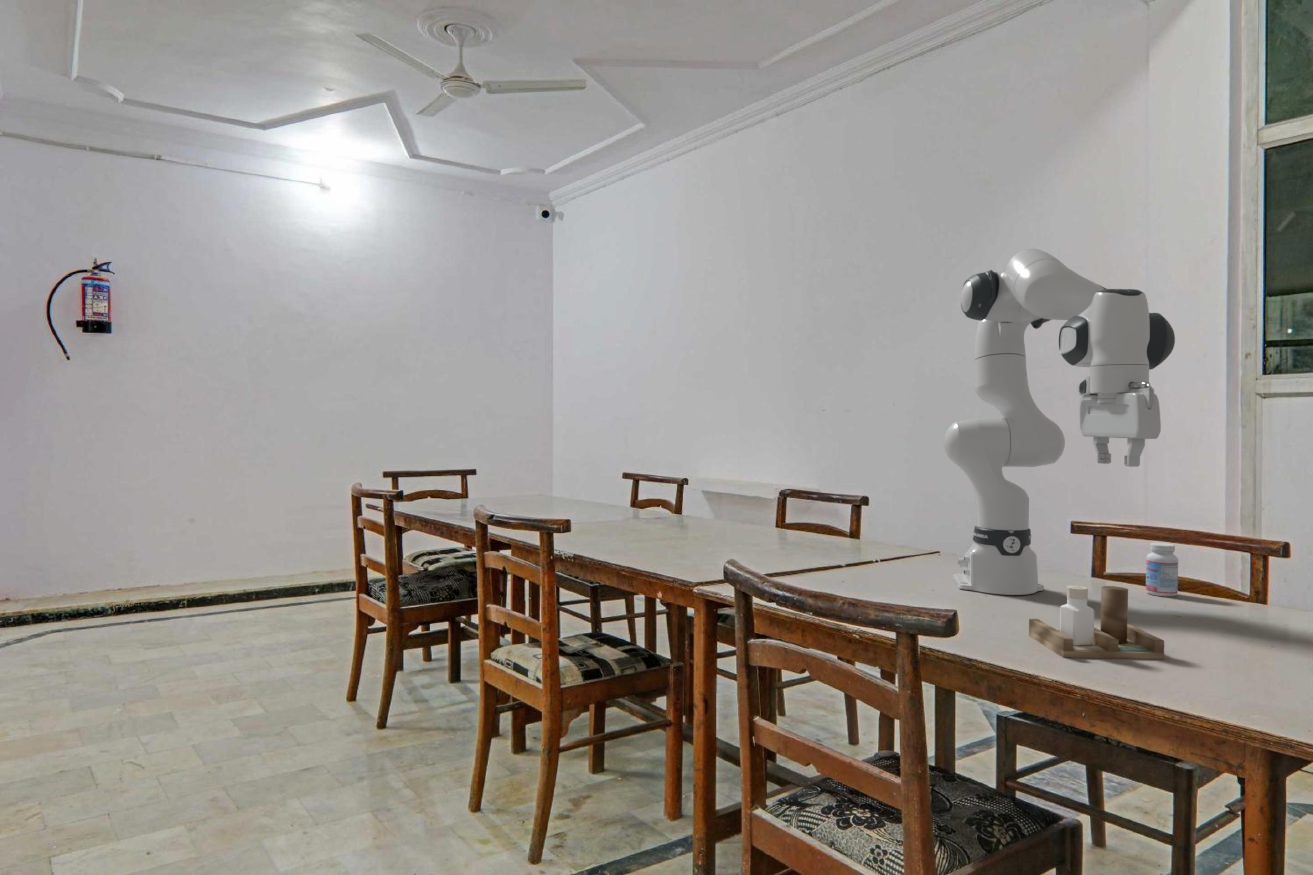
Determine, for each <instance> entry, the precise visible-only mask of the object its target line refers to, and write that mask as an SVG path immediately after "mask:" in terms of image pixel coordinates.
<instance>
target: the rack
mask: <svg viewBox="0 0 1313 875" xmlns="http://www.w3.org/2000/svg"><path fill="white" fill-rule="evenodd" d="M1028 636H1029V637H1031V638H1032V637H1033V638H1032V639H1034V640H1035V639H1036V640H1035V641H1036V642H1039V643H1040V644H1042V645H1044V646H1045V647H1047V648H1048V649H1050V650H1051V651H1053V652H1054V653H1056V654H1058V655H1059V656H1060V657H1062V658H1069V657H1071V658H1073V659H1075V658H1076V659H1077V658H1080V659H1081V658H1082V659H1083V658H1085V659H1134V660H1135V659H1137V660H1139V659H1141V660H1144V659H1146V660H1164V659H1165V640H1163V639H1162V638H1159V637H1158V636H1155V635H1153V634H1151V633H1149V632H1147V631H1144V630H1142V629H1140V628H1139V627H1136V626H1134V625H1132V624H1130V623H1128V622H1127V643H1125V644H1118V643H1119V640H1118V639H1116V638H1114V637H1112V636H1110V635H1108V634H1106V633H1104V632H1102V631H1101V629H1098V628H1097V627H1095V626H1094V642H1093V644H1092V645H1083V646H1074V645H1073V639H1072V638H1070V637H1068V636H1067V635H1065V634H1063V633H1061V632H1060V629H1058V630H1057V629H1056V628H1054V627H1053V626H1051V625H1049V624H1047V623H1046V622H1044V621H1042V620H1040V619H1039V618H1029V619H1028Z"/></svg>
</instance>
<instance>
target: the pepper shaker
mask: <svg viewBox="0 0 1313 875" xmlns="http://www.w3.org/2000/svg"><path fill="white" fill-rule="evenodd" d="M1088 595H1089V589H1088V587H1086V586H1083V585H1067V586H1066V598H1067V600H1066V604H1063V605H1060V607H1059V630H1060V632H1061V633H1063V634H1065V635H1067V636H1068V637H1070V638H1072V639H1073V645H1074V646H1083V645H1092V644H1093V642H1094V627H1095V609H1094V608H1092V607H1091V606H1089V605H1088V600H1089V598H1088V597H1089V596H1088Z"/></svg>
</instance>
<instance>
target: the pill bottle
mask: <svg viewBox="0 0 1313 875" xmlns="http://www.w3.org/2000/svg"><path fill="white" fill-rule="evenodd" d="M1175 547H1176V546H1175V544H1172V543H1166V542H1150V551H1151V552H1149V553H1148V554H1147V555H1146V559H1145V560H1146V564H1145V565H1146V568H1145V592H1146V594H1148V595H1151V596H1155V597H1162V596H1163V597H1164V598H1165V597H1166V598H1167V597H1170V598H1171V597H1172V598H1173V597H1176V596H1177V595H1178V587H1179V585H1178V584H1179V558H1178V556H1177V555H1175V554H1174V553H1175V550H1176V549H1175Z"/></svg>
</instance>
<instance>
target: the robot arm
mask: <svg viewBox="0 0 1313 875" xmlns="http://www.w3.org/2000/svg"><path fill="white" fill-rule="evenodd" d="M960 306H961V310H962V312H963V314H964V316H965V317H966V318H969V319H972V320H975V321H978V324H977V327H976V332H975V338H974V349H973V350H974V354H973V357H974V358H973V359H974V360H973V361H974V362H973V363H974V382H975V385H974V386H975V392H976V394H977V395H978V397H979V398H980V399H981V400H982V401H983V402H985V403H987V404H989V405H991V406H994V407H995V408H996V409H997V410H998V411H999V412H1000V413H1001V416H1002V418H978V417H977V418H975V417H974V418H970V419H963V420H958V421H954V422H953V423H952V424H950V425H949V427H948V428H947V430H946V432H945V435H944V437H943V438H944V439H943V446H944V447H943V448H944V452H945V453H946V455H947V457H948V459H950V461H951V462H952V463H954V464H955V465H957V466H958V467H959V468H960V470H962V471H963V472H964V473H965V474H966V476H967V478H968V479H969V481H970V483H971V486H972V487H973V491H974V492H973V493H974V495H975V496H974V497H975V506H976V507H975V511H976V515H975V516H976V517H975V518H976V525H975V526H974V529H973V531H972V532H973V533H972V541H973V543H972V544H971V546H970V547H969V548H968V550H967V551H966V553H965V554H964V555H963V557H958V559H957V564H958V568H962V572H959V573H953V575H952V578H953V580H954V582H955V584H956V585H957V587H958V589H960V590H961V589H962V590H966V591H967V590H969V591H975V592H980V593H987V594H994V595H1007V596H1009V595H1010V596H1015V595H1016V596H1019V595H1020V596H1021V595H1031V594H1032V595H1033V594H1035V593H1037V592H1040V591H1044V590H1045V585H1044V584H1041V583H1039V574H1038V571H1039V570H1038V558H1037V553H1036V552H1035V551H1034V550H1032V548H1031V547H1030V545H1031V543H1032V540H1031V539H1032V534H1031V532H1032V531H1031V530H1032V529H1031V528H1029V527H1030V520H1029V519H1030V498H1029V496H1028V493H1027V491H1026V490H1025V489H1024V488H1022V486H1019V485H1018V484H1015V483H1014V482H1012V481H1009V480H1007V479H1006V478H1005V476H1004V473H1003V468H1006V467H1007V468H1009V467H1010V468H1011V467H1013V468H1014V467H1015V468H1018V467H1019V468H1023V467H1024V468H1035V467H1041V466H1047V465H1052V464H1055V463H1056V462H1057V461H1058V460H1059V459H1060V458H1061V456H1062V455H1063V452H1064V450H1065V445H1066V444H1065V442H1066V440H1065V435H1064V433H1063V430H1062V428H1060V426H1059V424H1057V423H1056V422H1055V421H1053V420H1052V419H1050V418H1049V417H1047V416H1046V415H1045V414H1044V413H1043V412H1042V411H1041V410H1040V409H1039V407H1038V406H1037V404H1036V402H1035V401H1034V399H1033V397H1032V395H1031V392H1030V387H1029V380H1028V373H1027V372H1028V371H1027V356H1026V355H1027V354H1026V345H1025V332H1026V329H1027V328H1028V327H1029V325H1031V327H1033V329H1035V330H1037V329H1040V328H1041V327H1042V325H1043V324H1045V323H1047V322H1049V321H1053V320H1055V321H1065V323H1064V324H1063V325H1062V326H1061V327H1060V330H1059V335H1058V350H1059V354H1060V355H1061V357H1062V358H1063V359H1064V361H1065V362H1066V363H1068V364H1069V365H1071V366H1074V367H1079V368H1089V373H1088V374H1087V376H1086V377H1085V378H1084V379H1083V380H1081V381H1080V382H1079V383H1078V384H1077V395H1078V396H1081V397H1080V399H1079V411H1078V412H1079V413H1078V414H1079V428H1080V432H1081V434H1082V436H1083V437H1087V438H1088V437H1090V438H1093V440H1092V444H1093V446H1094V450H1095V452H1096V462H1097V464H1101V465H1102V464H1104V465H1106V464H1107V465H1108V464H1111V462H1112V453H1110V451H1109V445H1108V444H1109V443H1110V438H1111V439H1112V438H1113V439H1127V442H1126V444H1127V446H1128V449H1127V453H1126V455H1124V456H1123V457H1124V458H1123V459H1124V466H1125V467H1130V468H1131V467H1132V468H1133V467H1134V468H1137V467H1139V466H1140V465H1141V456H1142V453H1143V451H1144V449H1145V447H1146V439H1147V440H1157V439H1158V438H1159V436H1160V434H1161V432H1162V430H1161V427H1162V425H1161V424H1162V422H1161V410H1160V409H1161V408H1160V402H1159V398H1158V396H1157V394H1156V393H1155V389H1154V388H1153V387H1152V385H1151V383H1150V371H1151V370H1153V369H1155V368H1157V367H1158V366H1159V365H1161V364H1163V363H1164V361H1165V360H1166V359H1168V357H1169V356H1170V355H1171V354H1172V352H1173V350H1174V347H1175V342H1176V337H1175V335H1176V334H1175V331H1174V329H1173V326H1172V325H1171V324H1170V322H1169V321H1168V320H1167V319H1166V318H1165V317H1164V316H1163V315H1162V314H1161V313H1159V312H1150V311H1149V303H1148V299H1147V296H1146V294H1145V293H1144V292H1143V291H1141V290H1138V289H1135V288H1128V289H1124V288H1106V287H1105V286H1102V285H1100V284H1098V283H1096V282H1093V281H1092V280H1089V279H1088V278H1085V277H1084V276H1082V275H1080V274H1078V273H1077V272H1075V271H1074V270H1072V269H1071V268H1069V267H1068V266H1066V265H1065V264H1064V263H1063V262H1062V261H1061V260H1060V259H1059V258H1057V257H1055V256H1054V255H1052V254H1050V253H1048V252H1046V251H1043V250H1041V249H1037V248H1027V249H1023V250H1021V251H1019V252H1017V253H1015V254H1014V255H1013V256H1012V257H1011V258H1010V260H1009V261H1008V262H1007V264H1006V268H1005V270H1004V271H993V270H992V269H990V270H987V271H984V272H980V273H979V272H978V273H976V274H973V275H971V276H969V277H968V278H967V279H966V280H965V282H964V283H963V286H962V288H961V293H960Z"/></svg>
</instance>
